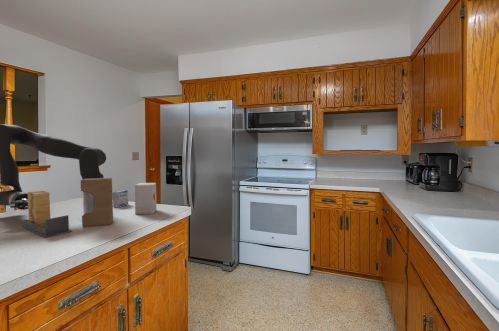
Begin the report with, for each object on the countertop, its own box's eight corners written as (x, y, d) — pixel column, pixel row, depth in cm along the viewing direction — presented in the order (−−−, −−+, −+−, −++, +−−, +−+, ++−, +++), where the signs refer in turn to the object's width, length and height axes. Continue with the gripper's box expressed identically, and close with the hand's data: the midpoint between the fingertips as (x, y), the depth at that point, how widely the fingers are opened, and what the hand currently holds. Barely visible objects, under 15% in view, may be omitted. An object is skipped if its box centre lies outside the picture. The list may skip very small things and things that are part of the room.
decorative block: (81, 227, 115) (79, 180, 113) (86, 223, 120) (84, 178, 119) (110, 225, 117) (108, 179, 116) (113, 221, 123) (112, 177, 122)
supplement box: (153, 214, 137) (152, 184, 136) (134, 214, 136) (134, 185, 135) (157, 210, 146) (156, 182, 145) (139, 210, 145) (138, 182, 144)
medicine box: (119, 207, 153) (119, 192, 153) (112, 207, 154) (112, 191, 154) (128, 204, 161) (128, 190, 161) (121, 204, 162) (121, 189, 162)
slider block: (29, 225, 115) (27, 192, 114) (43, 222, 119) (41, 190, 118) (36, 228, 110) (34, 194, 110) (50, 225, 115) (49, 192, 114)
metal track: (21, 227, 115) (20, 211, 114) (46, 222, 122) (45, 207, 122) (44, 237, 101) (43, 220, 100) (71, 231, 108) (70, 215, 108)
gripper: (2, 194, 121) (15, 198, 111) (38, 190, 132) (52, 194, 122) (3, 211, 121) (16, 216, 111) (38, 206, 132) (53, 210, 122)
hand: (35, 204), depth 117 cm, fingers closed
